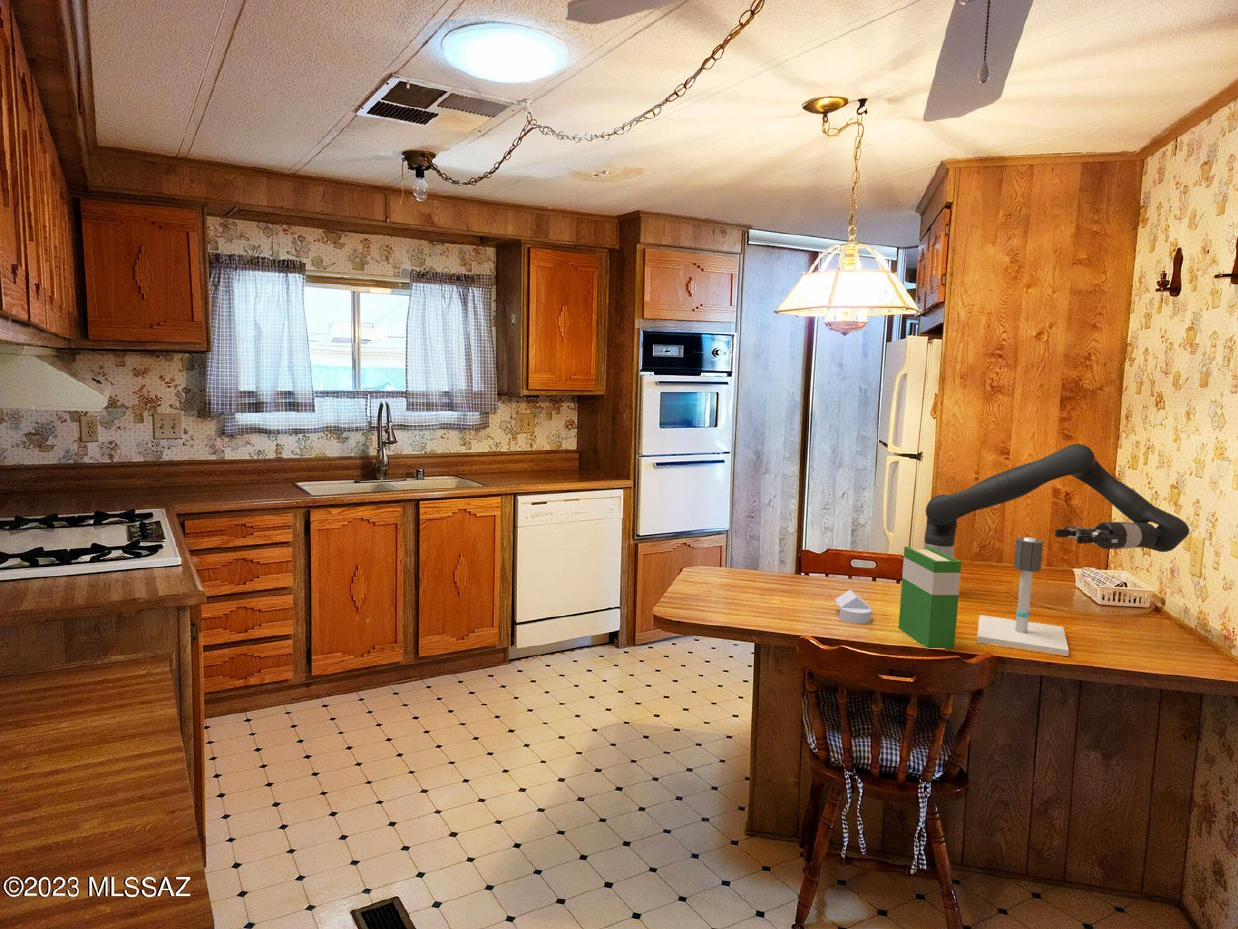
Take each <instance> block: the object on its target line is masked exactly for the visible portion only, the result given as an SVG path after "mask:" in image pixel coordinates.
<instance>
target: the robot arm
mask: <svg viewBox="0 0 1238 929" xmlns="http://www.w3.org/2000/svg"><path fill="white" fill-rule="evenodd" d="M1067 476H1071V477H1073V478H1075V479H1077V480H1079V481H1080V482H1082V483H1084V484H1086V485H1087V486H1089V487H1091V489H1093V490H1094V491H1096V492H1097V493H1098V494H1099V495H1101V496H1102V497H1104V499H1106V500H1107V501H1108V502H1109V503H1110V504H1111V505H1113V507H1114V508H1116V509H1117V511H1119V512H1121V513H1122V514H1123V515H1124V516H1125V517H1126V518H1128V519H1129V520H1130V521H1131V522H1129V521H1127V522H1126V521H1105V522H1103V521H1102V522H1101V523H1098V525H1097V526H1096V527H1084V526H1064V527H1063V528H1057V529H1055V534H1054V536H1055V537H1056V538H1073V539H1075V540H1076V543H1077V544H1079V545H1082V544H1085V545H1086V544H1090V545H1097V546H1098V547H1099V548H1101V549H1102V550H1121V549H1122V550H1126V549H1127V550H1128V549H1133V548H1138V549H1139V548H1146V549H1149V550H1152V551H1156V552H1159V553H1167V552H1170V551H1173V550H1175V548H1177V547H1178V545H1180V543H1182V542H1183V541H1184V540H1185V539H1186V538H1187V537H1188V536H1189V535H1190V528H1189V526H1188V524H1187V523H1186V522H1185V521H1184V520H1183V519H1181V518H1180V517H1177V516H1175V515H1174V514H1171V513H1169V512H1167V511H1166V510H1163V509H1160V508H1159V507H1156V506H1155V505H1153V504H1152V503H1151V502H1149V501H1148V500H1147V499H1146V498H1144V496H1142V494H1139V493H1138V492H1137V491H1135V490H1134V489H1132V488H1131V487H1129V486H1128V485H1126V484H1125V483H1123V482H1121V481H1120V480H1118V479H1117V478H1116V477H1114V476H1113V475H1112V474H1111V473H1109V472H1108V471H1107V470H1106V469H1105V467H1103V466H1102V465H1101V464H1100V462H1099V461H1098V460H1097V458H1096V457H1095V454H1094V452H1093V450H1092V449H1091V447H1089V446H1087V445H1086V444H1081V443H1074V444H1070V445H1067V446H1066V447H1062V448H1061V449H1059V450H1057V451H1055V452H1053V453H1051V454H1049V455H1047V456H1045V457H1043V458H1040V459H1037V460H1035V461H1031V462H1027V463H1024V464H1022V465H1018V466H1015V467H1013V468H1011V469H1010V468H1009V469H1007V470H1004V471H1001V472H999V473H998V472H997V473H996V474H993V475H991V476H989V477H987V478H985V479H983V480H981V481H979V482H977V483H975V484H974V485H972V486H969V488H967V489H963V490H961V491H958V492H955V493H953V494H949V495H948V494H938V495H935V496H934V497H932V498H931V499H930V500H929V501H928V502H927V504H926V508H925V516H926V526H925V533H924V541H923V542H924V544H923V549H926V547H931V548H933V549H935V550H937V551H940V552H942V553H944V554H946V555H948V556H950V557H952V558H954V552H955V540H956V535H957V534H956V533H957V522H958V519H960V518H961V517H964V516H966V515H968V514H971V513H975V512H976V511H980V510H984V509H987V508H991V507H994V506H997V505H1001V504H1005V503H1007V502H1010V501H1013V500H1016V499H1018V498H1019V499H1020V498H1022V497H1024V496H1026V495H1028V494H1030V493H1031V492H1033V491H1035V490H1037V489H1038V488H1040V487H1041V486H1043V485H1045V484H1047V483H1048V482H1051V481H1053V480H1054V481H1055V480H1056V479H1060V478H1064V477H1067ZM1151 523H1154V524H1156V525H1157V526H1156V527H1155V526H1154V525H1153V524H1151Z"/></svg>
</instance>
